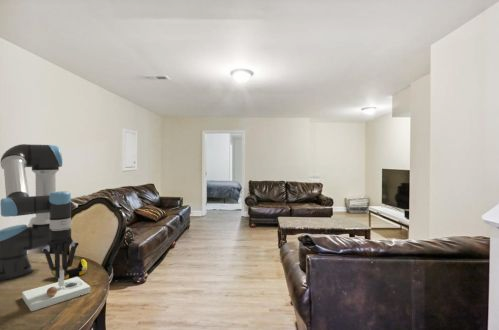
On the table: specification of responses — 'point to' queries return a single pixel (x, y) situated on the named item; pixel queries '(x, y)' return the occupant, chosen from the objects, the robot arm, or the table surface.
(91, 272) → the table surface
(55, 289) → the wood ball
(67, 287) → the ball
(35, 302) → the plate
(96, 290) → the table surface
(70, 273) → the gaming controller
